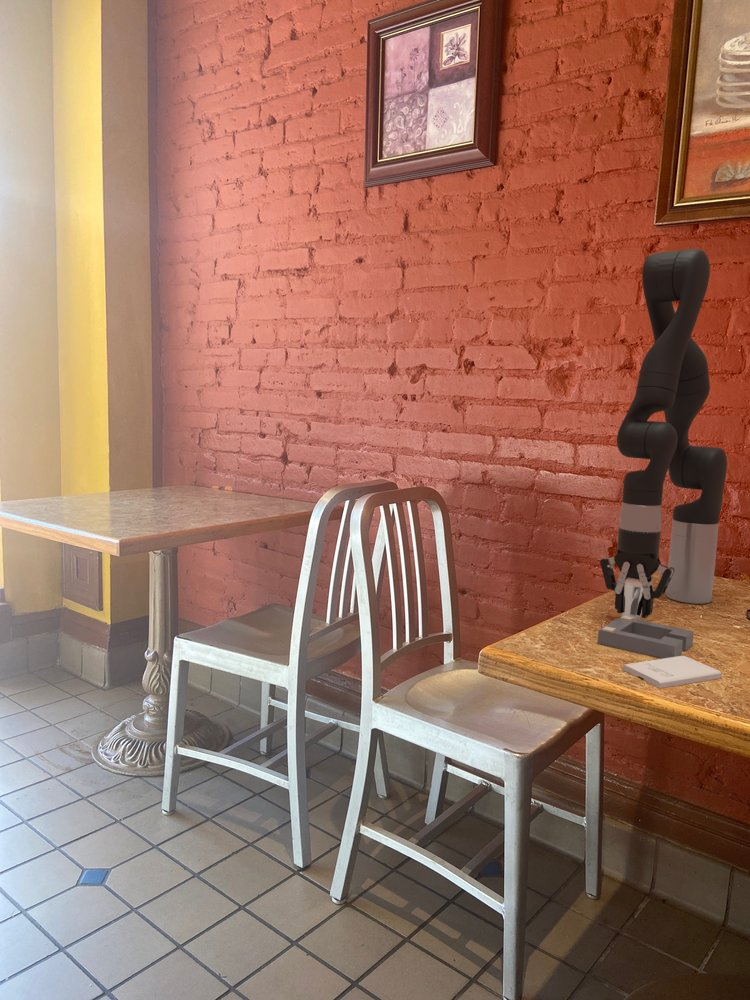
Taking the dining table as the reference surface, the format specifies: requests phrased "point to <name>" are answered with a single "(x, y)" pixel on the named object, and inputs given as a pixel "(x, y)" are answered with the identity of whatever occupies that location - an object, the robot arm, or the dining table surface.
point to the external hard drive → (672, 671)
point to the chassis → (645, 637)
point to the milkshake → (632, 598)
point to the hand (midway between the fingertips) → (632, 614)
